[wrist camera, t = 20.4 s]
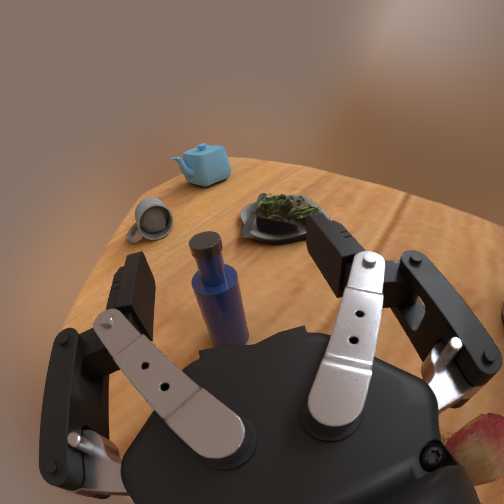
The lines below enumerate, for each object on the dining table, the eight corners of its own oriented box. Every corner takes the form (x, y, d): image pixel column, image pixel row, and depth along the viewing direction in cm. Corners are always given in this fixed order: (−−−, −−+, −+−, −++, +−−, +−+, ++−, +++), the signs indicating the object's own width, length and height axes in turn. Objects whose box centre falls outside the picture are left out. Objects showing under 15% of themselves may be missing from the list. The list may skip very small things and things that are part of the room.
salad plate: (229, 207, 63) (225, 189, 60) (301, 193, 65) (300, 175, 63) (246, 254, 48) (242, 231, 45) (339, 233, 50) (341, 211, 47)
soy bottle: (222, 318, 36) (197, 223, 28) (255, 327, 35) (239, 229, 26) (204, 344, 33) (169, 250, 24) (238, 356, 31) (212, 259, 23)
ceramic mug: (167, 218, 62) (158, 189, 58) (177, 232, 57) (168, 199, 52) (126, 236, 59) (115, 207, 54) (132, 252, 53) (119, 220, 48)
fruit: (416, 467, 16) (455, 447, 12) (459, 418, 19) (498, 384, 14) (453, 506, 10) (501, 494, 6) (494, 454, 13) (539, 427, 8)
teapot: (169, 189, 78) (160, 154, 71) (215, 169, 87) (210, 136, 81) (191, 198, 70) (182, 157, 64) (241, 175, 80) (236, 138, 73)
